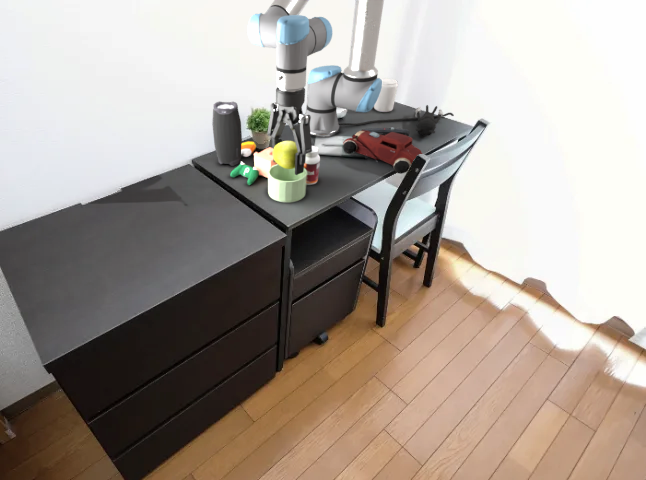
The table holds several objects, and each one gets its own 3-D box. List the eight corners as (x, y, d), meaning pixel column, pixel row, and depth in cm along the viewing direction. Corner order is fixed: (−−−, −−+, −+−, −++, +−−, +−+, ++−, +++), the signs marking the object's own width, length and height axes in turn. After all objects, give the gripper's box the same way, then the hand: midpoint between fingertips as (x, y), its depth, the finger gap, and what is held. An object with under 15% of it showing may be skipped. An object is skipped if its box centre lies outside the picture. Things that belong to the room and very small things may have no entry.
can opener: (407, 140, 144) (411, 126, 140) (406, 148, 139) (410, 134, 135) (360, 134, 148) (363, 120, 144) (358, 141, 143) (360, 127, 140)
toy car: (359, 141, 143) (365, 115, 137) (429, 167, 129) (439, 139, 123) (337, 153, 135) (342, 126, 128) (409, 182, 121) (419, 153, 114)
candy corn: (255, 140, 138) (251, 151, 133) (257, 147, 140) (253, 158, 135) (240, 141, 140) (235, 152, 134) (242, 149, 142) (237, 160, 136)
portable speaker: (213, 158, 135) (207, 102, 122) (237, 153, 138) (234, 98, 125) (221, 169, 129) (215, 111, 116) (246, 163, 132) (244, 106, 119)
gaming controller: (254, 188, 123) (263, 172, 123) (248, 184, 120) (257, 167, 119) (234, 179, 128) (242, 163, 127) (228, 175, 124) (236, 158, 124)
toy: (414, 113, 167) (407, 137, 145) (418, 97, 163) (411, 120, 141) (441, 116, 163) (437, 142, 142) (445, 101, 159) (442, 125, 138)
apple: (296, 177, 108) (297, 150, 103) (268, 169, 112) (268, 144, 106) (307, 165, 113) (309, 139, 108) (280, 158, 117) (281, 133, 111)
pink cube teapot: (261, 163, 132) (261, 141, 127) (289, 174, 126) (290, 150, 121) (247, 172, 128) (246, 149, 122) (275, 183, 122) (275, 159, 116)
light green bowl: (288, 179, 124) (289, 159, 119) (313, 193, 117) (315, 173, 112) (260, 190, 119) (260, 170, 114) (284, 206, 112) (285, 186, 107)
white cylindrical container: (394, 108, 169) (401, 79, 161) (389, 114, 164) (395, 85, 156) (377, 105, 172) (382, 77, 164) (371, 110, 167) (376, 82, 159)
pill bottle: (295, 183, 122) (297, 151, 114) (302, 174, 126) (304, 143, 119) (314, 187, 120) (317, 154, 112) (320, 178, 124) (323, 146, 117)
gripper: (253, 80, 102) (255, 157, 117) (308, 102, 89) (303, 185, 104) (275, 74, 105) (274, 150, 120) (331, 95, 92) (323, 177, 107)
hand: (287, 166), depth 112 cm, fingers closed on apple, 9 cm apart
